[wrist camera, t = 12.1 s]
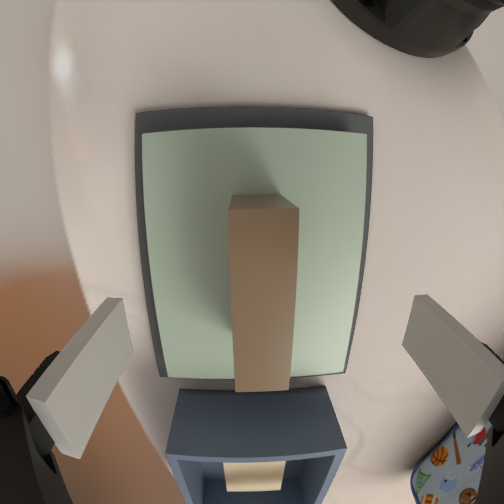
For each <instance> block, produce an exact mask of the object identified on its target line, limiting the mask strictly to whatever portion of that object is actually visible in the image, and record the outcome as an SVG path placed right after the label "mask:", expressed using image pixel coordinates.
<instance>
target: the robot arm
mask: <svg viewBox="0 0 504 504" xmlns="http://www.w3.org/2000/svg"><path fill="white" fill-rule="evenodd" d="M332 1H333V2H334V3H335V5H336V6H337V7H338V8H339V9H340V10H341V11H342V12H343V13H344V14H345V15H346V16H347V17H348V18H349V19H350V20H351V21H352V22H354V23H355V24H356V25H357V26H359V27H360V28H361V29H362V30H364V31H365V32H367V33H368V34H369V35H371V36H372V37H374V38H376V39H377V40H379V41H381V42H382V43H384V44H386V45H388V46H390V47H392V48H394V49H396V50H399V51H401V52H404V53H407V54H410V55H414V56H418V57H425V58H435V57H440V56H444V55H446V54H449V53H451V52H453V51H456V50H458V49H460V48H461V47H463V46H464V45H465V44H466V43H467V42H468V41H469V40H470V38H471V36H472V34H473V31H474V30H475V29H476V28H477V27H479V26H480V25H481V24H482V22H483V21H484V20H485V19H486V18H487V16H488V15H489V14H490V13H491V12H492V11H494V10H496V9H499V8H501V7H503V6H504V0H332ZM402 345H403V347H404V348H405V349H406V351H407V352H408V353H409V355H410V356H411V357H412V359H413V360H414V361H415V363H416V364H417V366H418V367H419V368H420V370H421V371H422V372H423V374H424V375H425V377H426V378H427V379H428V381H429V382H430V384H431V385H432V386H433V388H434V389H435V391H436V392H437V394H438V395H439V396H440V398H441V399H442V401H443V402H444V404H445V405H446V407H447V408H448V410H449V411H450V413H451V414H452V416H453V417H454V418H455V420H456V422H457V423H458V425H459V426H460V428H461V429H462V431H463V432H464V434H465V435H466V437H467V438H468V437H470V436H473V435H475V434H477V433H479V432H481V431H482V429H483V428H484V426H485V425H486V423H487V422H488V420H489V422H490V423H491V427H490V428H489V430H488V431H487V433H486V434H485V435H484V437H483V438H482V439H481V441H480V443H479V446H481V445H482V443H483V442H484V441H485V440H487V443H486V444H485V445H484V447H486V450H485V457H484V463H483V468H482V474H481V479H480V483H479V488H478V492H477V496H476V500H475V504H504V361H503V360H502V359H500V357H499V356H498V355H497V354H494V351H493V350H492V349H490V348H489V347H488V346H487V345H486V344H484V343H482V342H480V341H479V340H478V339H477V338H476V337H475V336H473V335H472V334H471V333H470V332H469V331H468V330H467V329H466V328H465V327H464V326H463V325H462V324H460V323H459V322H458V321H457V320H456V319H455V318H454V317H453V316H452V315H450V314H449V313H448V312H447V311H446V310H445V309H444V308H442V307H441V306H440V305H439V304H438V303H437V302H435V301H434V300H433V299H432V298H431V297H430V296H428V295H415V296H414V301H413V305H412V309H411V313H410V317H409V321H408V325H407V329H406V332H405V336H404V339H403V343H402ZM132 351H133V347H132V343H131V338H130V334H129V329H128V324H127V319H126V314H125V309H124V304H123V298H108V297H107V298H106V300H105V301H104V302H103V303H102V304H101V305H100V306H99V307H98V308H97V310H96V311H95V312H94V313H93V314H92V315H91V316H90V318H89V319H88V320H87V321H86V322H85V323H84V324H83V326H82V327H81V328H80V329H79V330H78V331H77V333H76V334H75V335H74V336H73V337H72V339H71V340H70V341H69V342H68V343H67V345H66V346H65V347H64V348H63V349H62V351H61V352H60V351H55V352H54V353H52V354H51V355H49V356H48V357H46V359H45V360H44V361H43V362H42V363H41V364H40V366H39V367H38V368H37V369H36V370H35V372H34V374H32V375H31V377H30V378H29V379H28V380H27V382H26V383H25V384H24V385H23V387H22V388H21V389H20V391H19V392H18V393H17V395H16V394H15V392H14V390H13V388H12V386H11V384H10V382H9V380H7V379H6V378H5V377H2V376H0V504H73V502H72V500H71V498H70V496H69V493H68V491H67V488H66V486H65V483H64V481H63V478H62V475H61V473H60V470H59V467H58V464H57V462H56V459H55V456H54V454H53V452H52V451H51V449H52V447H53V445H54V443H55V444H56V445H57V447H58V449H59V450H60V451H61V453H63V454H66V455H68V456H71V457H75V458H78V459H80V458H81V456H82V454H83V452H84V449H85V447H86V445H87V442H88V440H89V438H90V436H91V434H92V432H93V430H94V427H95V425H96V423H97V421H98V419H99V417H100V415H101V413H102V411H103V408H104V407H105V404H106V402H107V400H108V398H109V396H110V394H111V392H112V390H113V388H114V386H115V384H116V382H117V380H118V378H119V376H120V375H121V373H122V371H123V369H124V367H125V365H126V363H127V361H128V359H129V357H130V355H131V353H132Z"/></svg>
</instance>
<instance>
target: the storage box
mask: <svg viewBox="0 0 504 504" xmlns="http://www.w3.org/2000/svg"><path fill="white" fill-rule="evenodd" d="M346 449H347V446H346V443H345V441H344V438H343V435H342V432H341V429H340V426H339V423H338V420H337V417H336V414H335V412H334V409H333V406H332V403H331V400H330V397H329V395H328V392H327V389H326V386H321V387H310V388H297V389H289V390H281V391H261V392H235V391H218V390H190V389H180V390H179V394H178V399H177V403H176V407H175V412H174V416H173V421H172V425H171V430H170V434H169V439H168V443H167V448H166V453H165V454H166V457H167V459H168V462H169V464H170V467H171V470H172V472H173V475H174V477H175V479H176V482H177V484H178V486H179V489H180V491H181V493H182V495H183V498H184V500H185V502H186V504H321V503H322V501H323V499H324V497H325V495H326V493H327V491H328V489H329V487H330V485H331V483H332V481H333V479H334V477H335V475H336V472H337V470H338V468H339V466H340V463H341V461H342V459H343V457H344V454H345V452H346ZM276 461H286V463H285V469H284V474H283V479H282V484H281V489H280V490H271V491H227V487H226V480H225V473H224V465H223V463H254V462H276Z"/></svg>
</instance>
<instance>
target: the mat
mask: <svg viewBox="0 0 504 504" xmlns="http://www.w3.org/2000/svg"><path fill="white" fill-rule="evenodd" d="M248 127H258V128H297V129H316V130H330V131H341V132H352V133H361V134H367V170H366V198H365V215H364V229H363V241H362V252H361V262H360V271H359V279H358V287H357V294H356V301H355V308H354V315H353V321H352V327H351V333H350V339H349V344H348V349H347V355H346V360H345V365H344V370H343V372H337V373H329V374H319V375H308V376H295V377H290V378H296V377H310V376H322V375H332V374H342V373H345V372H346V368H347V363H348V359H349V354H350V349H351V345H352V340H353V334H354V329H355V324H356V318H357V313H358V307H359V301H360V294H361V288H362V281H363V273H364V266H365V258H366V249H367V240H368V229H369V218H370V205H371V189H372V165H373V117H371V116H364V115H357V114H350V113H342V112H333V111H324V110H313V109H300V108H284V107H252V106H229V107H198V108H181V109H169V110H158V111H148V112H140V113H136V121H135V173H136V199H137V217H138V230H139V242H140V253H141V262H142V271H143V280H144V287H145V295H146V302H147V309H148V315H149V321H150V327H151V333H152V339H153V344H154V349H155V355H156V360H157V365H158V369H159V374H160V377H168V374H167V369H166V364H165V360H164V355H163V349H162V344H161V339H160V333H159V327H158V321H157V315H156V309H155V302H154V295H153V288H152V280H151V272H150V264H149V255H148V245H147V234H146V222H145V209H144V192H143V168H142V134H145V133H154V132H164V131H176V130H190V129H208V128H248ZM192 379H197V378H192Z"/></svg>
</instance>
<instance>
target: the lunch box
mask: <svg viewBox="0 0 504 504" xmlns="http://www.w3.org/2000/svg"><path fill="white" fill-rule="evenodd" d="M490 427H491V423H490V422H489V420H488V422H487V423H486V425H485V426H484V428H483V429H482V431H481V432H479V433H477V434H475V435H473V436H470V437H468V438H467V437H466V435H465V434H464V432H463V431H462V429H461V428H460V426H459V425H458V424H457V425H456V426H455V427H454V428H453V429H452V430H451V431H450V433H449V434H448V435H447V436H446V438H445V439H444V440H443V441H442V442H441V443H440V444H439V445H438V446H437V447H436V448H435V449H434V450H433V451H432V452H431V453H430V454H429V455H428V456H426V457H425V458H424V459H423V460H422V461H421V462H420V463H419V464H418V465H417V466H416V467H415V469H414V470H413V472H412V475H411V480H410V484H411V490H412V493H413V496H414V499H415V501H416V504H475V500H476V496H477V492H478V488H479V483H480V479H481V474H482V468H483V463H484V457H485V450H486V447H484V445H485V444H486V443H487V440H485V441H484V442H483V443H482V445H481V446H479V443H480V441H481V439H482V438H483V437H484V435H485V434H486V433H487V431H488V430H489V428H490Z"/></svg>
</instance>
